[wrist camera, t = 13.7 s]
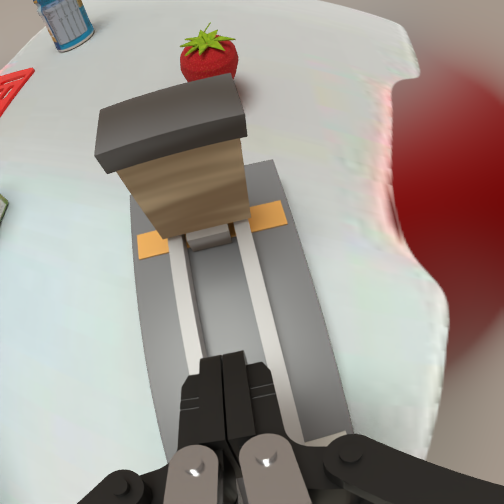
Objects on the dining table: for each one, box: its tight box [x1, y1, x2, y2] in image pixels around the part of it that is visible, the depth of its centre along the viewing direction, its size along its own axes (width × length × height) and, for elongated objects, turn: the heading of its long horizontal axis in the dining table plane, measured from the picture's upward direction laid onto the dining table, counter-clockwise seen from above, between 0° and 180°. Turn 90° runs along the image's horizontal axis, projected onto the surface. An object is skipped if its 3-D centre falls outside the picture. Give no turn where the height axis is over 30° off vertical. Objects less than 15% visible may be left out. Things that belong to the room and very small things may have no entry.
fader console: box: [130, 159, 354, 504], centre depth 21 cm, size 26×12×4 cm, turn 13°
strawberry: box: [180, 22, 238, 82], centre depth 29 cm, size 6×8×10 cm
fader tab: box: [94, 73, 251, 252], centre depth 18 cm, size 4×7×11 cm, turn 103°
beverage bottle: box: [33, 0, 94, 52], centre depth 36 cm, size 8×8×20 cm
